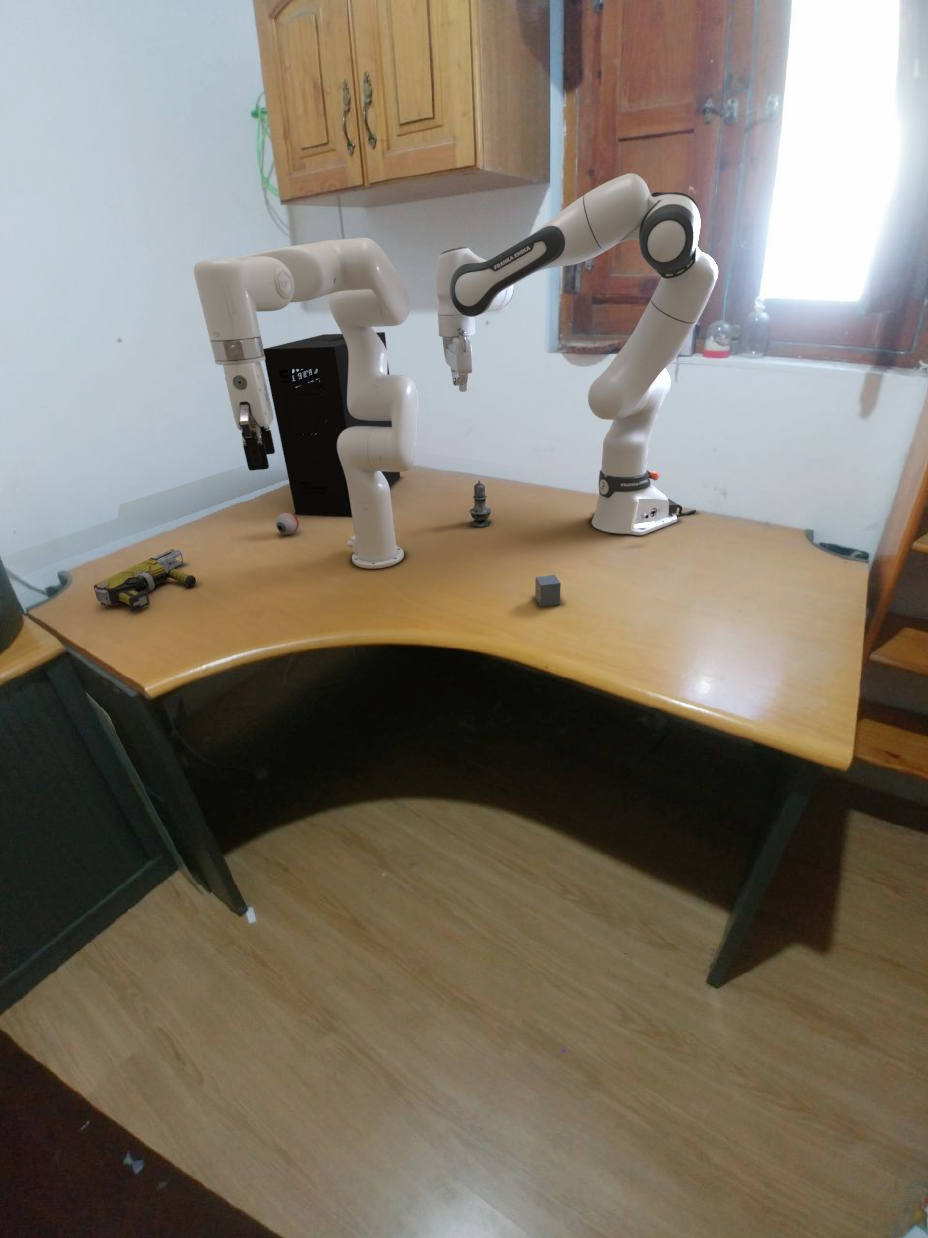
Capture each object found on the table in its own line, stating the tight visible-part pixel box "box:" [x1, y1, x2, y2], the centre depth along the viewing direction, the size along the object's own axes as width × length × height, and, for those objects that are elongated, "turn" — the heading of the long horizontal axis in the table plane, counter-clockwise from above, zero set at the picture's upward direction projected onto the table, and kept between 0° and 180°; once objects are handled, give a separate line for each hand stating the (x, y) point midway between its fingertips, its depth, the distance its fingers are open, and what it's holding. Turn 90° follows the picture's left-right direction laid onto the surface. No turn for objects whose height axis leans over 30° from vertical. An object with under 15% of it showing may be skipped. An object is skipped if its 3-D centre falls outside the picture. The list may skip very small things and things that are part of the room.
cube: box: [534, 574, 562, 608], centre depth 124 cm, size 4×4×5 cm
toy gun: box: [93, 548, 197, 612], centre depth 139 cm, size 5×24×15 cm
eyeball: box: [275, 511, 300, 536], centre depth 163 cm, size 6×6×6 cm
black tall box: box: [263, 331, 401, 517], centre depth 181 cm, size 38×20×45 cm, turn 167°
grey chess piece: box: [469, 479, 492, 528], centre depth 162 cm, size 6×6×12 cm
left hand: (262, 461), depth 102 cm, fingers open, 9 cm apart
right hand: (459, 388), depth 152 cm, fingers open, 8 cm apart
